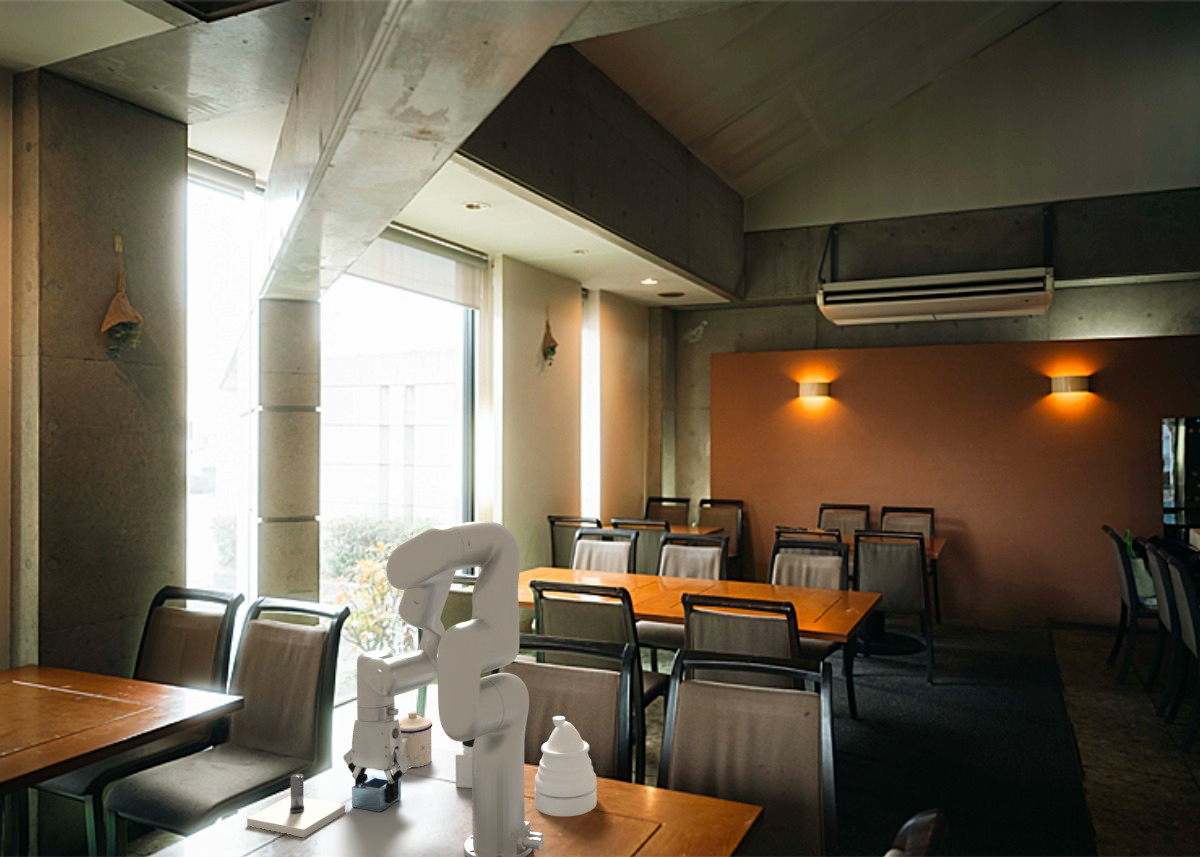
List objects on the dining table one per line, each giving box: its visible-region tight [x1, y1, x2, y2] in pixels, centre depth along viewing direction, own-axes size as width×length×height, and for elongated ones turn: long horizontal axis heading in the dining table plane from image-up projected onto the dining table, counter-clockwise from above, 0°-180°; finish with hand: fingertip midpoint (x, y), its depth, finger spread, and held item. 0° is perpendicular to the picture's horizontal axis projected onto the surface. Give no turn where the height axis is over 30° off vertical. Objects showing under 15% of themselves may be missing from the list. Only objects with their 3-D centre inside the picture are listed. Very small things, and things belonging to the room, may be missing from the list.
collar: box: [351, 774, 402, 812], centre depth 176 cm, size 7×7×4 cm
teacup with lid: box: [397, 711, 433, 768], centre depth 198 cm, size 12×9×12 cm
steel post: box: [290, 773, 305, 814], centre depth 169 cm, size 3×3×7 cm
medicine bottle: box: [455, 739, 475, 789], centre depth 187 cm, size 7×7×12 cm
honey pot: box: [534, 715, 598, 817], centre depth 176 cm, size 13×13×18 cm
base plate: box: [246, 794, 346, 838], centre depth 169 cm, size 14×12×2 cm
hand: (376, 797), depth 176 cm, fingers closed on collar, 7 cm apart
